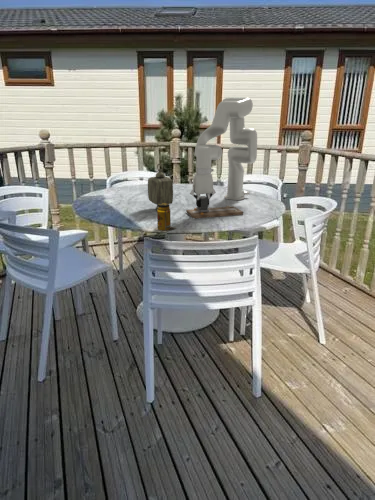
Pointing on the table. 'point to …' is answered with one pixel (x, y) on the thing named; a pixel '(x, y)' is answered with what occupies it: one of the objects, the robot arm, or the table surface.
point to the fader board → (215, 212)
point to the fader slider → (203, 204)
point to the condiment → (164, 218)
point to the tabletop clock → (160, 188)
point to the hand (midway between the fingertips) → (202, 206)
